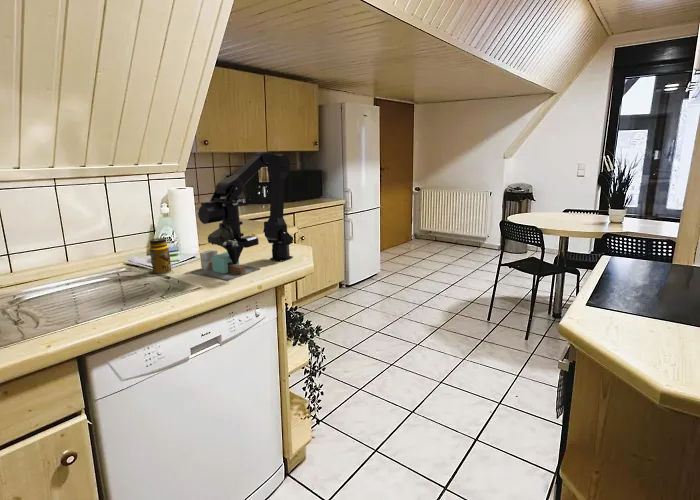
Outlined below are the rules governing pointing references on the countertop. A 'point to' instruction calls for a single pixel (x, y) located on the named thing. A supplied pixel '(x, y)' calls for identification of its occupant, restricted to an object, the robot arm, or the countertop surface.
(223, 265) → the block
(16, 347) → the countertop surface
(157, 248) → the condiment
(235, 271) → the rail track
